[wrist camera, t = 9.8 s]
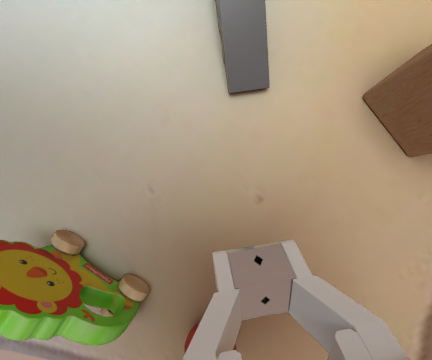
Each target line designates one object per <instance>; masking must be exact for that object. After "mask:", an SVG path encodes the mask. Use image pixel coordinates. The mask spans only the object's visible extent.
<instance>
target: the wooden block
mask: <svg viewBox="0 0 432 360" xmlns="http://www.w3.org/2000/svg"><path fill="white" fill-rule="evenodd" d="M363 98H364V100H365V101H366V103H367V104H368V105H369V106H370V108H371V109H372V110H373V112H374V113H375V114H376V115H377V117H378V118H379V119H380V121H381V122H382V123H383V124H384V126H385V127H386V128H387V129H388V131H389V132H390V133H391V135H392V136H393V137H394V138H395V140H396V141H397V142H398V144H399V145H400V146H401V147H402V149H403V150H404V151H405V153H406V154H407V155H408V156H410V157H412V156H418V155H424V154H430V153H432V44H431V45H430V46H428V47H427V48H425V49H424V50H422V51H421V52H419V53H418V54H417V55H415V56H414V57H413V58H411V59H410V60H409V61H407V62H406V63H405V64H403V65H402V66H401V67H399V68H398V69H397V70H395V71H394V72H393V73H392V74H390V75H389V76H388V77H386V78H385V79H384V80H382V81H381V82H380V83H378V84H377V85H376V86H374V87H373V88H372V89H370V90H369V91H368V92H366V93H365V94H364V96H363Z"/></svg>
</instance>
